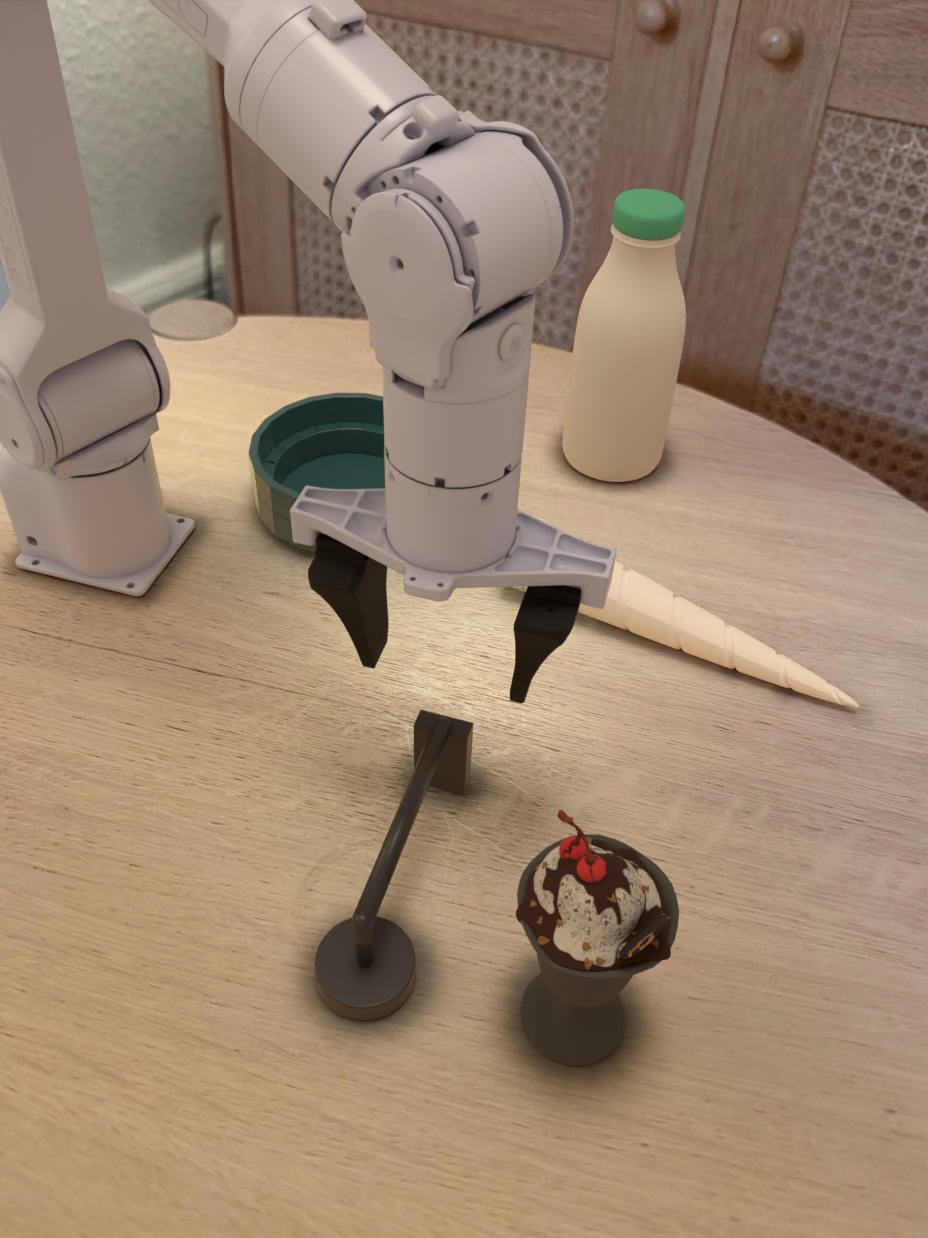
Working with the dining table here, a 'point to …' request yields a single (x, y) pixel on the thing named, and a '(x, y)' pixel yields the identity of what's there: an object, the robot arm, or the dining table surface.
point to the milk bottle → (628, 344)
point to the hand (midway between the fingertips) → (447, 670)
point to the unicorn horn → (700, 634)
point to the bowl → (316, 453)
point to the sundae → (590, 940)
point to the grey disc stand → (374, 946)
